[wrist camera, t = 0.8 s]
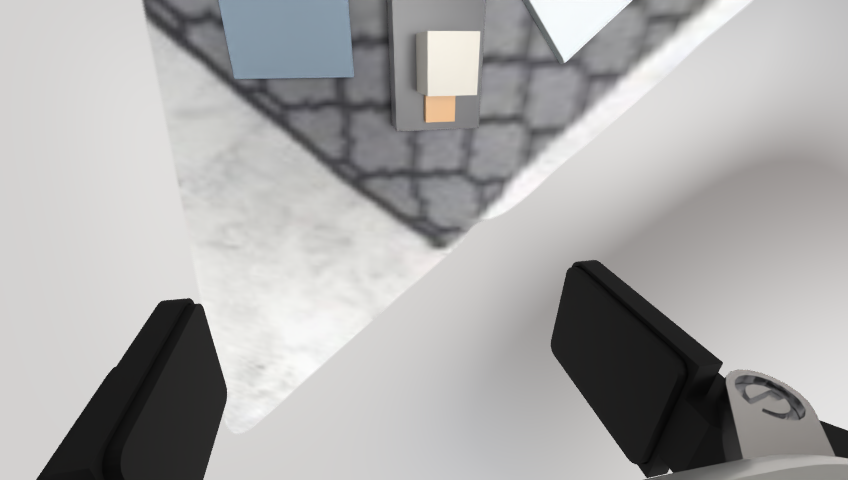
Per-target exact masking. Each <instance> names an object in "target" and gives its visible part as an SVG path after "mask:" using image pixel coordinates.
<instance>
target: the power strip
mask: <svg viewBox="0 0 848 480" xmlns="http://www.w3.org/2000/svg"><path fill="white" fill-rule="evenodd" d="M485 7H486V0H387V15H388V40H389V65H390V90H391V115H392V126H393V127H394V129H395V130H396V131H416V130H440V129H464V128H479V113H480V95H481V78H482V60H483V43H484V25H485Z"/></svg>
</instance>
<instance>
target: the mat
mask: <svg viewBox="0 0 848 480" xmlns="http://www.w3.org/2000/svg"><path fill="white" fill-rule="evenodd" d="M218 1H219V6H220V11H221V16H222V21H223V26H224V30H225V35H226V40H227V45H228V50H229V55H230V60H231V65H232V69H233V74H234V79H268V78H332V77H354V69H353V56H352V44H351V31H350V18H349V5H348V0H218Z"/></svg>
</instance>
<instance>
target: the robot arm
mask: <svg viewBox="0 0 848 480" xmlns="http://www.w3.org/2000/svg"><path fill="white" fill-rule="evenodd" d="M551 349H552V352H553V354H554V356H555V357H556V359H557V360H558V361H559V363H560V364H561V365H562V367H563V368H564V370H565V371H566V373H567V374H568V375H569V377H570V378H571V380H572V381H573V382H574V384H575V385H576V387H577V388H578V389H579V391H580V392H581V394H582V395H583V396H584V398H585V399H586V400H587V402H588V403H589V405H590V406H591V407H592V409H593V410H594V412H595V413H596V415H597V416H598V417H599V419H600V420H601V422H602V423H603V424H604V426H605V427H606V429H607V430H608V431H609V433H610V434H611V436H612V437H613V438H614V440H615V441H616V443H617V444H618V445H619V447H620V448H621V450H622V451H623V452H624V454H625V455H626V457H627V458H628V459H629V460H630V461H631V462H632V463H634V464H637V465H638V466H639V468H640V469H641V470H642V472H643V473H644V474H645V476H646V477H647V478H649V477H654V476H658V475H662V474H666V473H667V472H668V470H669V468H670V469H671V471H672V472H673V473H672V474H668V475H663V476H658V477H654V478H649V479H645V480H848V431H847V430H845V429H842V428H839V427H836V426H833V425H831V424H828V423H825V422H823V421H820V420H819V419H818V417H817V415H816V413H815V411H814V409H813V408H812V406H811V405H810V403H809V402H808V401H807V400H806V399H805V398H804V397H803V396H802V395H801V394H800V393H798V392H797V391H796V390H794V389H793V388H791V387H790V386H788V385H787V384H785V383H783V382H781V381H779V380H777V379H775V378H773V377H770V376H768V375H765V374H763V373H759V372H755V371H750V370H735V371H731V372H730V373H729V374H728V375H727V376H726V377H725V378H724V377H723V376H722V375H720V374H719V373H718V372H719V369H720V368H721V366H722V364H723V362H722V361H720V360H719V359H718V358H717V357H715V356H714V355H713V354H712V353H711V352H709V351H708V350H707V349H706V348H704V347H703V346H702V345H701V344H700V343H698V342H697V341H696V340H695V339H693V338H692V337H691V336H689V335H688V334H687V333H686V332H685V331H684V330H682V329H681V328H680V327H679V326H677V325H676V324H675V323H674V322H673V321H671V320H670V319H669V318H668V317H666V316H665V315H664V314H663V313H661V312H660V311H659V310H658V309H656V308H655V307H654V306H653V305H652V304H650V303H649V302H648V301H647V300H645V299H644V298H643V297H642V296H641V295H639V294H638V293H637V292H636V291H634V290H633V289H632V288H631V287H630V286H628V285H627V284H626V283H624V282H623V281H622V280H621V279H620V278H618V277H617V276H616V275H615V274H614V273H612V272H611V271H610V270H609V269H607V268H606V267H605V266H604V265H603V264H601V263H600V262H599V261H597V260H591V261H581V262H575V263H574V264H573V265H572V267H571V268H569V269H568V270H567V273H566V278H565V282H564V286H563V291H562V295H561V299H560V304H559V308H558V313H557V317H556V322H555V326H554V330H553V335H552V339H551ZM226 400H227V388H226V384H225V380H224V377H223V373H222V370H221V367H220V363H219V360H218V356H217V353H216V349H215V346H214V343H213V339H212V336H211V332H210V329H209V326H208V322H207V319H206V315H205V312H204V309H203V306H202V305H201V304H194V302H193V300H192V299H190V298H187V299H177V300H166V301H161V302H160V303H159V304H158V305H157V307H156V308H155V310H154V311H153V313H152V314H151V316H150V317H149V319H148V320H147V322H146V323H145V325H144V326H143V327H142V329H141V331H140V332H139V333H138V335H137V336H136V338H135V340H134V341H133V342H132V344H131V345H130V347H129V348H128V350H127V351H126V353H125V354H124V356H123V357H122V359H121V360H120V362H119V363H118V365H117V366H116V367H114V368H113V369H112V370H111V371H110V373H109V374H108V375H107V376H106V378H105V379H104V381H103V382H102V384H101V385H100V387H99V388H98V390H97V391H96V393H95V394H94V395H93V397H92V398H91V400H90V401H89V403H88V404H87V406H86V407H85V409H84V410H83V412H82V413H81V415H80V416H79V418H78V419H77V420H76V422H75V424H74V425H73V426H72V428H71V429H70V431H69V432H68V434H67V435H66V437H65V438H64V440H63V441H62V443H61V444H60V445H59V447H58V449H57V450H56V451H55V453H54V454H53V456H52V457H51V459H50V460H49V462H48V463H47V465H46V466H45V468H44V469H43V471H42V472H41V473H40V475H39V476H38V478H37V479H36V480H203V478H204V475H205V472H206V468H207V465H208V462H209V458H210V455H211V451H212V448H213V445H214V441H215V438H216V435H217V431H218V428H219V424H220V421H221V418H222V414H223V411H224V408H225V404H226Z"/></svg>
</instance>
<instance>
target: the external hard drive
mask: <svg viewBox="0 0 848 480" xmlns="http://www.w3.org/2000/svg"><path fill="white" fill-rule="evenodd" d="M631 1H632V0H523V2H524V3H525V5H526V7H527V9H528V10H529V12H530V14H531V15H532V17H533V19H534V20H535V22H536V24H537V26H538V27H539V29H540V31H541V32H542V34H543V36H544V38H545V39H546V41H547V43H548V44H549V46H550V48H551V50H552V51H553V53H554V55H555V56H556V58H557V60H558V62H559V63H565V62H566V61H568V60H569V59H570V58H571V57H572V56H573V55H574V54H575V53H576V52H577V51H578V50H579V49H580V48H581V47H582V46H584V45H585V44H586V43H587V42H588V41H589V40H590V39H591V38H592V37H593V36H594V35H595V34H597V33H598V32H599V31H600V30H601V29H602V28H603V27H604V26H605V25H606V24H607V23H608V22H609V21H611V20H612V19H613V18H614V17H615V16H616V15H617V14H618V13H619V12H620V11H621V10H622V9H624V8H625V7H626V6H627V5H628V4H629V3H630V2H631Z"/></svg>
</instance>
